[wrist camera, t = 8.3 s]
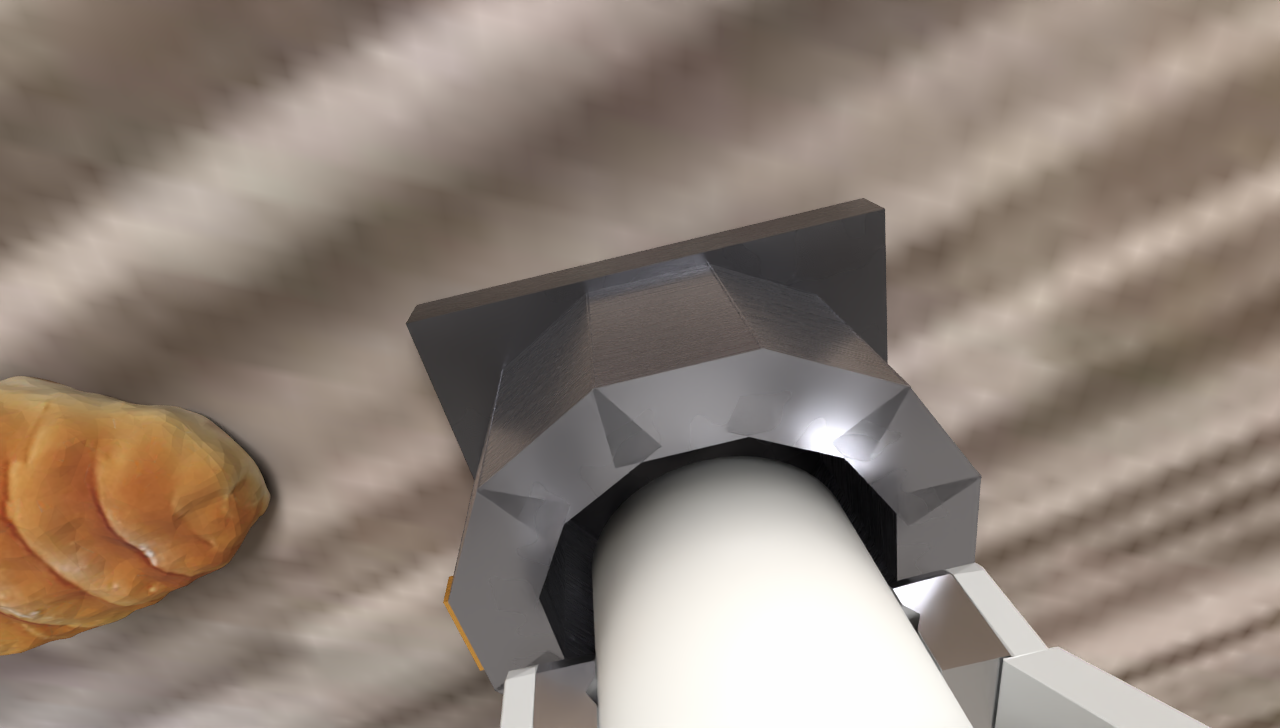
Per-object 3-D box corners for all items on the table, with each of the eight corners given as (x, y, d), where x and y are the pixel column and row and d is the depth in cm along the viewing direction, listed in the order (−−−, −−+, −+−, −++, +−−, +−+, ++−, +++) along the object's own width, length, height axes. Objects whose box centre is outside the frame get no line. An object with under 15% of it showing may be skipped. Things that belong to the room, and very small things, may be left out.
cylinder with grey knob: (843, 429, 10) (1021, 673, 6) (851, 619, 13) (984, 888, 9) (562, 492, 10) (557, 778, 6) (621, 671, 13) (646, 963, 9)
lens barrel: (863, 198, 13) (1012, 273, 9) (874, 532, 18) (975, 691, 13) (416, 305, 13) (340, 433, 9) (545, 610, 18) (538, 793, 13)
